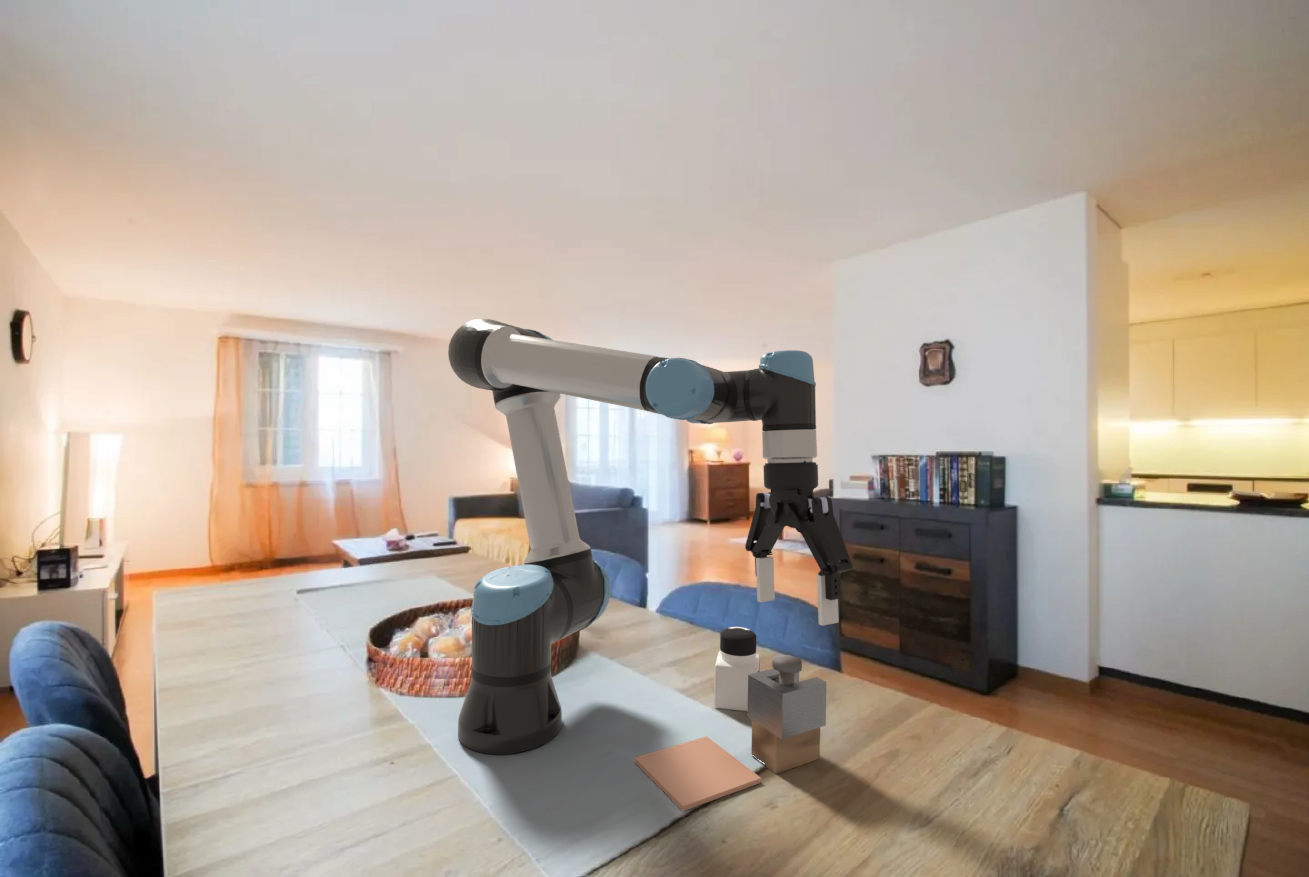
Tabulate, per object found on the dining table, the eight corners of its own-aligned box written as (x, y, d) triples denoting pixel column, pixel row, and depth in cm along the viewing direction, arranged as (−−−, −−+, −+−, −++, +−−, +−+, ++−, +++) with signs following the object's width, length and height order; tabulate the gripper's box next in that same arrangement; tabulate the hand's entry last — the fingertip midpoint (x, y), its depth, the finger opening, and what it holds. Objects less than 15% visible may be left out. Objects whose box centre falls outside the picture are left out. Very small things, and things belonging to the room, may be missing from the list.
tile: (634, 761, 79) (634, 757, 79) (706, 740, 86) (706, 736, 86) (682, 811, 69) (682, 806, 69) (760, 782, 75) (761, 777, 75)
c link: (781, 739, 76) (782, 693, 76) (747, 717, 82) (748, 674, 82) (825, 725, 80) (826, 681, 80) (789, 704, 86) (790, 664, 86)
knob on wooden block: (751, 756, 81) (753, 659, 81) (793, 741, 86) (795, 649, 86) (776, 774, 77) (777, 671, 77) (819, 758, 81) (821, 661, 81)
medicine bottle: (758, 713, 94) (759, 639, 94) (713, 708, 96) (715, 635, 96) (759, 694, 101) (760, 625, 101) (717, 690, 103) (719, 622, 103)
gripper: (877, 460, 73) (883, 630, 73) (759, 460, 96) (763, 590, 95) (831, 462, 70) (837, 640, 70) (720, 461, 93) (724, 596, 92)
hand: (795, 611), depth 83 cm, fingers open, 13 cm apart
